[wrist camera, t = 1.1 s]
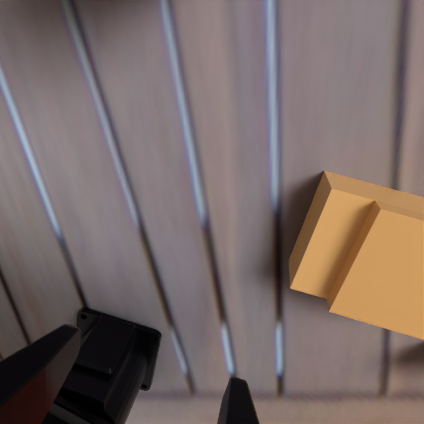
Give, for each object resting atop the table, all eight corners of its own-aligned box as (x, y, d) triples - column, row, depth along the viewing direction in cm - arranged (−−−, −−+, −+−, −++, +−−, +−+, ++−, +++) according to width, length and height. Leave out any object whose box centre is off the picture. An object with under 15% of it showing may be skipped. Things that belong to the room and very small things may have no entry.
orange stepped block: (400, 291, 20) (426, 340, 17) (288, 258, 21) (290, 300, 17) (453, 204, 18) (498, 241, 14) (323, 169, 18) (335, 196, 14)
